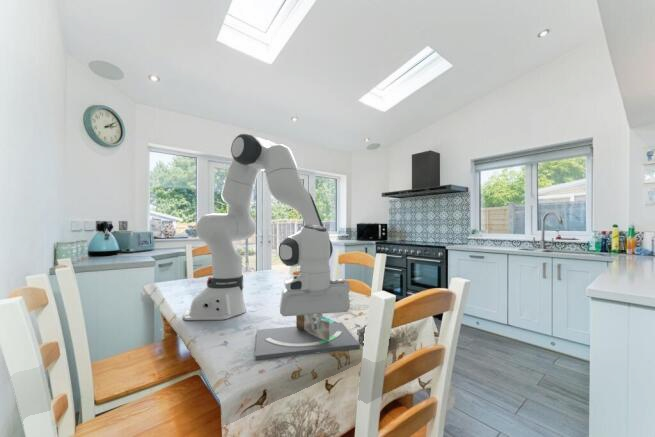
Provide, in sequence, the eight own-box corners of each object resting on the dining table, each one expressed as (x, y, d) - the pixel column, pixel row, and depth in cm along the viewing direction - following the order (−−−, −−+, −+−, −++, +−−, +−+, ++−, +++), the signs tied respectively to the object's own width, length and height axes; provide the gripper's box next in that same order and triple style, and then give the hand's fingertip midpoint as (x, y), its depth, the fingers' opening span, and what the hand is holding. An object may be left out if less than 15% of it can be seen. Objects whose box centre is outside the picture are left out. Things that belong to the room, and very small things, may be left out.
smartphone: (314, 312, 107) (338, 322, 95) (314, 314, 107) (338, 325, 95) (298, 316, 103) (321, 327, 91) (298, 318, 103) (321, 329, 91)
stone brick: (294, 327, 88) (294, 311, 88) (303, 324, 90) (303, 309, 90) (323, 341, 76) (323, 323, 76) (333, 338, 79) (332, 320, 79)
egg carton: (377, 350, 75) (376, 335, 76) (354, 342, 80) (353, 328, 80) (393, 337, 84) (393, 323, 84) (372, 331, 88) (372, 318, 89)
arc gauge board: (255, 359, 70) (255, 354, 70) (257, 333, 87) (257, 329, 87) (359, 348, 76) (359, 343, 76) (341, 325, 93) (341, 321, 94)
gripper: (346, 277, 85) (346, 322, 84) (279, 280, 80) (279, 327, 80) (352, 281, 79) (353, 329, 78) (280, 284, 74) (280, 336, 74)
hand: (315, 328), depth 79 cm, fingers closed
